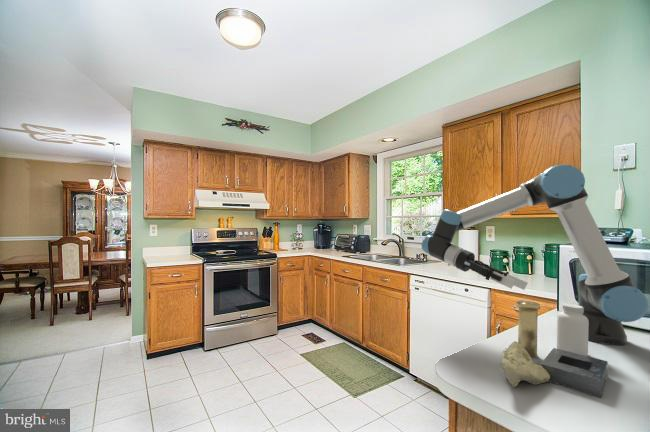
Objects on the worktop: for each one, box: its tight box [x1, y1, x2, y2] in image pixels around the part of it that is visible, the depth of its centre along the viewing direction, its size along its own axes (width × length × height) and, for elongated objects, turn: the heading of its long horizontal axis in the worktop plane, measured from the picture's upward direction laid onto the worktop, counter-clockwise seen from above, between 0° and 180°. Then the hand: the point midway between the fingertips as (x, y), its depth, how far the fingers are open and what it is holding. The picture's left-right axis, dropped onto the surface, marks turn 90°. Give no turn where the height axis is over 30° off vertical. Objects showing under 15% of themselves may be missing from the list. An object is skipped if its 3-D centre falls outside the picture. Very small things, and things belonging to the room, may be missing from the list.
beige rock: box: [500, 341, 550, 388], centre depth 81 cm, size 15×7×15 cm
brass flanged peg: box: [515, 300, 541, 359], centre depth 99 cm, size 6×6×16 cm
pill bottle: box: [556, 303, 589, 356], centre depth 101 cm, size 8×8×15 cm
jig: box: [540, 347, 609, 399], centre depth 84 cm, size 16×12×4 cm
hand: (519, 285), depth 102 cm, fingers open, 13 cm apart
